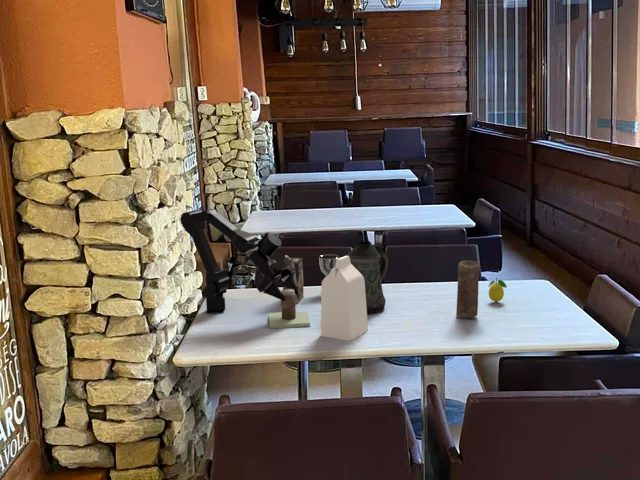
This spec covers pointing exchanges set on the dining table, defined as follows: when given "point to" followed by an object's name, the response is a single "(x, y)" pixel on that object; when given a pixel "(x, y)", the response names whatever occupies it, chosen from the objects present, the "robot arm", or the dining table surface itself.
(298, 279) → the coffee box
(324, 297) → the milk
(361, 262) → the beer stein
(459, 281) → the candle
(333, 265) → the wine glass
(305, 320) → the serving board
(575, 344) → the dining table surface
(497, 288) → the lemon
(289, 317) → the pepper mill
